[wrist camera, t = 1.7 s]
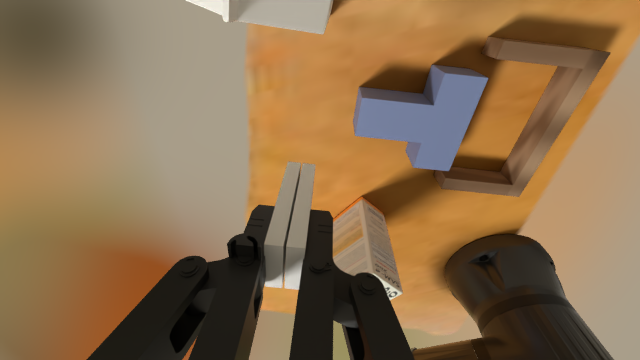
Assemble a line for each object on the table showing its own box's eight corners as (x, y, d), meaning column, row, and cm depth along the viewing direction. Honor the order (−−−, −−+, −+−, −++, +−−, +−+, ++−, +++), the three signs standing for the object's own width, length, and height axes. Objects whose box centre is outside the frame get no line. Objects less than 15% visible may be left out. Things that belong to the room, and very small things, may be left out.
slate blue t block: (349, 144, 33) (350, 160, 30) (364, 56, 28) (368, 64, 24) (437, 154, 33) (448, 171, 30) (470, 68, 28) (488, 78, 24)
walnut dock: (506, 182, 35) (519, 196, 33) (433, 175, 35) (441, 188, 32) (584, 47, 26) (610, 52, 24) (488, 36, 26) (504, 40, 24)
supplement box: (345, 241, 43) (348, 324, 32) (322, 226, 41) (318, 308, 30) (385, 212, 39) (405, 295, 28) (362, 194, 37) (373, 274, 26)
